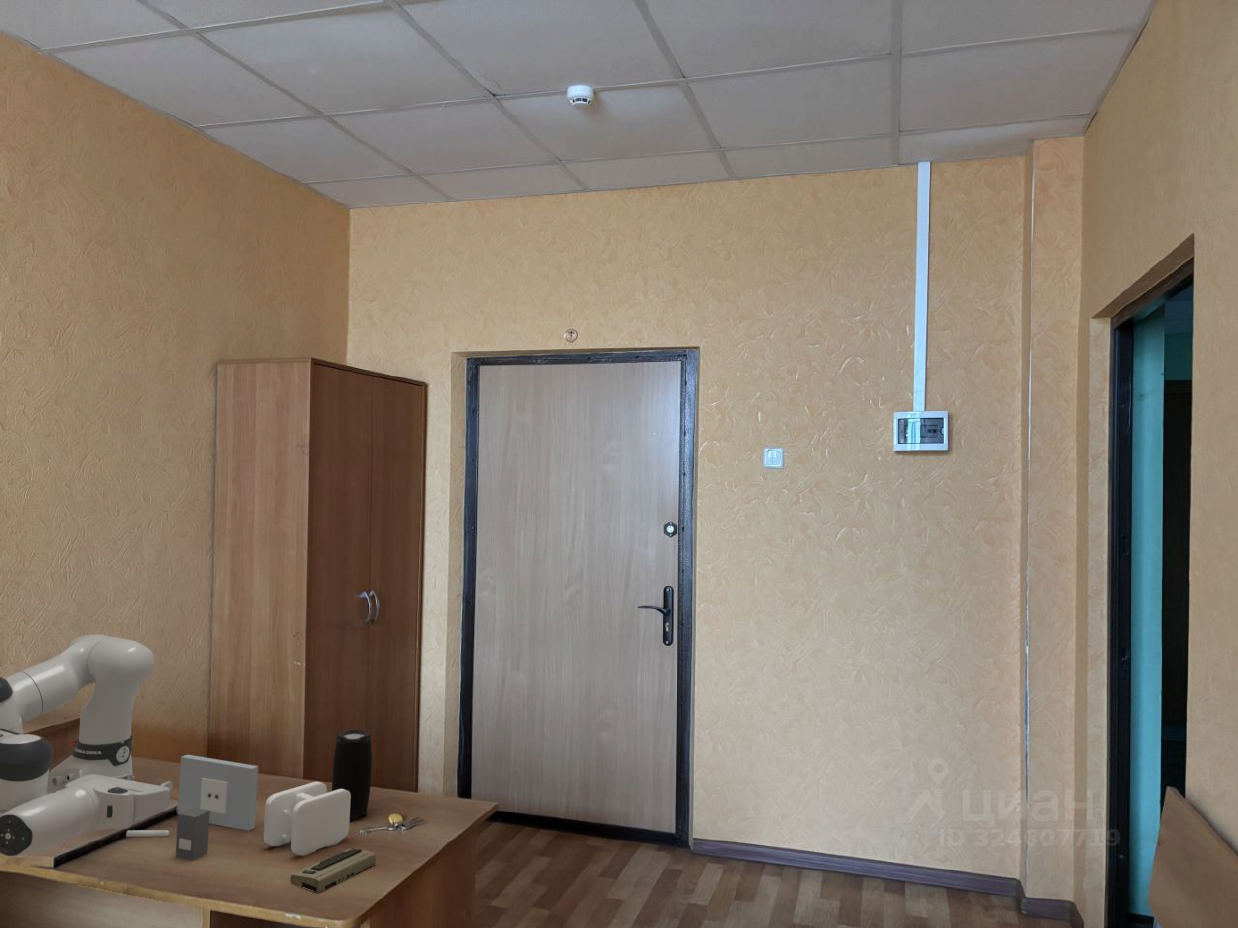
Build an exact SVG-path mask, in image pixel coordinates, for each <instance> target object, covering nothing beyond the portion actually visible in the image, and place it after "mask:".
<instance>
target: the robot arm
mask: <svg viewBox="0 0 1238 928" xmlns="http://www.w3.org/2000/svg"><path fill="white" fill-rule="evenodd" d="M155 661H156V660H155V655H154V653H153V652H152V650H151V649H150V648H149V647H147V646H145V645H143V643H141V642H138V641H136V640H134V639H133V640H132V639H127V638H123V637H118V636H110V635H107V634H102V633H96V634H85V635H82V636H79V637H77V638H74V640H72V641H71V642H70V643H69V644H68V646H67V647H66V649H64V650H63V651H62V652H60V653H59V654H57V655H55V656H54V657H52V658H49V659H46V661H41V662H40V663H37V664H35V665H32V666H30V667H28V668H25V669H22V670H21V671H17V672H16V673H12V674H11V675H8V676H6V677H4V678H3V677H1V676H0V854H1V855H4V856H6V857H9V858H12V857H13V858H14V857H22V856H26V855H27V856H28V855H31V854H34V853H39V852H40V851H44V850H47V849H50V848H52V847H55V846H58V845H59V844H62V843H64V842H65V841H67V840H68V839H69V838H71V837H78V836H81V835H84V834H86V833H89V832H97V831H102V830H124V829H128V828H130V827H131V826H132V825H133V822H138V821H142V820H144V819H147V818H149V817H151V816H154V815H156V814H158V813H160V812H163V811H164V810H166V809H167V808H168V806H170V802H171V791H172V790H173V781H171V780H170V781H169V780H164V781H161V782H159V785H158V784H157V785H156V784H152V783H147V782H141V781H136V780H135V778H136V776H135V775H134V774H133V759H132V755H131V753H132V751H133V744H134V741H133V735H132V722H133V721H132V718H133V709H134V703H135V700H136V696H137V694H138V691H139V690H140V687H141V685H142V684H143V683H144V682H145V681H146V680H147V679H149V677H150V676H151V674H152V673H153V670H154V668H155V665H156V664H155ZM92 684H94V688H93V690H92V693H91V697H90V698H89V700H88V701H87V702H85V703H84V705H82V707H81V709H80V716H79V717H80V718H79V734H78V736H79V737H78V740H74V741H72V742H69V744H70V745H69V748H73V750H72V752H71V755H69V756H68V757H67V758H66V759H64V760H63V761H61V762H60V763H58V764H57V765H56V766H55V767H53V768H52V769H51V770H50V768H51V764H52V760H53V756H54V751H55V750H54V749H55V748H54V747H53V746H52V745H51V743H50V742H49V741H48V740H47V739H46V738H44V737H43V736H42V735H37V734H30V733H29V734H27V733H24V728H23V723H25V722H28V721H30V720H32V719H35V718H37V717H40V716H42V715H44V714H46V713H49V712H51V711H52V710H53V711H54V710H55V709H58V708H60V707H62V706H64V705H67V704H68V703H70V702H72V701H73V700H74V699H75V698H76V696H77V694H78V693H79V691H81V690H82V689H84V688H86V687H87V686H88V685H92Z"/></svg>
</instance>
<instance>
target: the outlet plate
mask: <svg viewBox="0 0 1238 928" xmlns="http://www.w3.org/2000/svg"><path fill="white" fill-rule="evenodd" d="M258 775H259V766H258V765H255V764H254V765H252V764H246V763H241V762H234V761H229V760H221V759H218V758H217V759H216V758H210V757H205V756H199V755H192V754H185V755H182V756H181V757H180V770H179V788H178V803H177V804H178V806H177V815H178V814H179V813H181V812H183V811H185V810H188V809H190V808H192V807H193V808H198V809H204V810H209V811H210V812H209V825H215V826H221V827H226V828H230V829H237V830H241V831H246V832H249V831H252V830H253V829H255V828H256V816H257V815H256V811H257V798H258V797H257V796H258Z"/></svg>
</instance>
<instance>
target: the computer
mask: <svg viewBox="0 0 1238 928" xmlns="http://www.w3.org/2000/svg"><path fill="white" fill-rule="evenodd" d="M372 865H373V866H372ZM374 865H375V866H376V854H375V852H373V851H371V850H365V849H362V848H361V849H358V848H348V849H346V850H343V851H340V852H338V853H337V854H336V853H335V854H334V855H332V856H330V857H328V858H326V859H323V860H321V861H318V862H317V863H314V864H313V865H310V866H308V867H305V868H304V869H300V870H298V871H296V872H294V873H292V874H291V875H290V878H289V879H290V881H289V882H290V884H292V885H294V886H296V887H299V886H301V887H300V888H302V887H305V888H307V889H306V890H308V889H310V890H309V891H311V890H313V891H312V892H314V891H316V892H317V893H316V892H315V893H316V894H320V893H321V891H322V892H323V890H324V891H325V890H326V888H327V887H328V885H329V886H331V885H338V884H340V883H341V882H344V881H346V880H348V879H350V878H352V877H355V876H356V875H358V874H359V873H361V872H364V871H365V870H368V869H370V868H372V867H375V866H374ZM371 866H372V867H371ZM305 888H304V889H305ZM319 892H320V893H319Z"/></svg>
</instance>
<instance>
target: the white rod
mask: <svg viewBox="0 0 1238 928" xmlns="http://www.w3.org/2000/svg"><path fill="white" fill-rule="evenodd" d="M169 835H170V831H169V830H168V829H167V830H166V829H157V830H156V829H150V830H149V829H147V830H146V829H145V830H143V829H141V830H138V829H137V830H135V829H133V830H127V831H126V834H125V837H126V838H158V837H159V838H163V837H164V838H165V837H169Z"/></svg>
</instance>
